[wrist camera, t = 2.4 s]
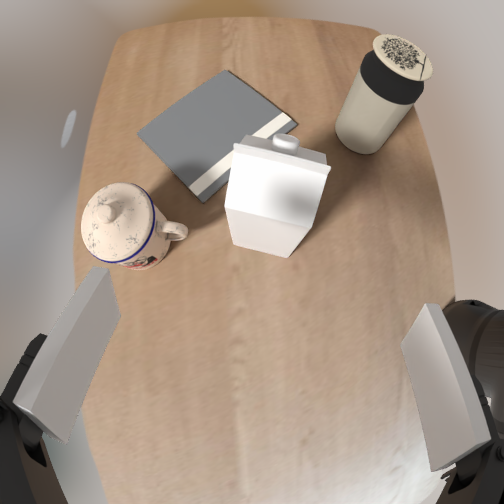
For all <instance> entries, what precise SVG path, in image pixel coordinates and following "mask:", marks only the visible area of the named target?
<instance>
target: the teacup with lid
mask: <svg viewBox="0 0 504 504" xmlns="http://www.w3.org/2000/svg"><path fill="white" fill-rule="evenodd" d="M81 231H82V237H83V240H84V243H85V245H86V247H87V248H88V250H89V251H90V252H91V254H92V255H93V256H95V257H96V258H97V259H99V260H101V261H104V262H108V263H116V264H119V265H121V266H124V267H127V268H130V269H133V270H145V269H148V268H151V267H153V266H155V265H156V264H158V263H159V262H160V261H161V260H162V259H163V258H164V256H165V255H166V253H167V251H168V249H169V246H170V242H171V240H182V239H185V238H186V237H187V235H188V228H187V227H186V226H185V225H183V224H181V223H177V222H171V221H167V219H166V218H165V216H164V215H163V214H162V213H161V212H160V211H159V209H158V208H157V207H156V206H155V205H154V204H153V202H152V200H151V198H150V196H149V195H148V194H147V192H146V191H145V190H143V189H142V188H141V187H139V186H137V185H135V184H132V183H127V182H118V183H113V184H110V185H108V186H106V187H104V188H102V189H101V190H99V191H98V192H97V193H96V194H95V195H94V196H93V197H92V198H91V199H90V201H89V202H88V204H87V206H86V208H85V210H84V213H83V217H82V223H81Z"/></svg>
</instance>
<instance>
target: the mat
mask: <svg viewBox="0 0 504 504" xmlns="http://www.w3.org/2000/svg"><path fill="white" fill-rule="evenodd" d="M296 126H297V124H296V123H295V122H294V121H292V119H291V118H289V117H288V116H287V115H286V114H284V113H283V112H281V111H280V110H279V109H278V108H276V107H275V106H274V105H273V104H271V103H270V102H269V101H267V100H266V99H265V98H263V97H262V96H261V95H260V94H258V93H257V92H256V91H254V90H253V89H252V88H250V87H249V86H247V85H246V84H245V83H243V82H242V81H241V80H239V79H238V78H236V77H235V76H234V75H232V74H231V73H229V72H228V71H226V70H224V71H222V72H221V73H219V74H217V75H216V76H214V77H213V78H211V79H210V80H208V81H207V82H205V83H204V84H202V85H201V86H199V87H198V88H196V89H195V90H193V91H192V92H190V93H189V94H187V95H186V96H185V97H183V98H182V99H180V100H179V101H178V102H176V103H175V104H173V105H172V106H171V107H169V108H168V109H167V110H165V111H164V112H163V113H161V114H160V115H159V116H157V117H156V118H155V119H154V120H152V121H151V122H150V123H148V124H147V125H146V126H145V127H143V128H142V129H141V130H140V131H139V132H137V135H138V136H139V137H140V138H141V139H142V140H143V141H144V142H145V143H146V144H147V146H148V147H149V148H150V149H151V150H152V151H153V152H154V153H155V154H156V155H157V156H158V157H159V158H160V159H161V160H162V161H163V162H164V163H165V164H166V165H167V166H168V167H169V168H170V170H171V171H172V172H173V173H174V174H175V175H176V176H177V177H178V178H179V179H180V180H181V181H182V182H183V183H184V184H185V185H186V186H187V187H188V188H189V189H190V190H191V191H192V192H193V193H194V195H195V196H196V197H197V198H198V199H199V200H200V201H201V202H202V203H204V202H205V201H206V200H208V199H209V198H210V197H211V196H212V195H213V194H214V193H216V192H217V191H218V190H219V189H220V188H221V187H223V186H224V185H225V184H226V183H227V182H228V181H229V177H230V171H231V166H232V160H233V155H234V146H233V145H234V143H238V144H240V142H241V141H242V140H243V138H244V137H245V136H246V135H251V136H256V137H260V138H265V139H269V140H273V137H274V135H275V134H287V133H289V132H290V131H291V130H293V129H294V128H295V127H296Z"/></svg>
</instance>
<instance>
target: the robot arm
mask: <svg viewBox="0 0 504 504" xmlns="http://www.w3.org/2000/svg"><path fill="white" fill-rule="evenodd" d="M120 317H121V314H120V311H119V307H118V303H117V300H116V296H115V292H114V288H113V284H112V280H111V276H110V271H109V269H108V268H102V267H96V266H93V267H92V269H91V270H90V271H89V273H88V274H87V276H86V277H85V279H84V280H83V282H82V283H81V284H80V286H79V287H78V289H77V290H76V292H75V293H74V295H73V297H72V298H71V299H70V301H69V302H68V304H67V306H66V307H65V309H64V310H63V312H62V313H61V315H60V317H59V318H58V320H57V322H56V323H55V325H54V326H53V328H52V330H51V331H50V333H49V335H48V336H46V335H44V334H41V333H40V334H39V335H38V336H37V337H36V338H34V339H33V340H32V341H31V342H30V344H29V345H28V347H27V349H26V351H25V352H24V355H23V356H22V357H21V359H20V361H19V364H18V365H17V366H16V368H15V370H14V372H13V374H12V376H11V377H10V379H9V381H8V383H7V385H6V387H5V389H4V391H3V393H2V395H1V396H0V504H68V502H67V500H66V498H65V496H64V494H63V491H62V489H61V486H60V484H59V482H58V479H57V477H56V474H55V472H54V469H53V466H52V464H51V461H50V458H49V455H48V452H47V449H46V446H45V443H44V441H43V439H42V437H41V436H42V433H43V432H45V433H46V434H47V435H48V436H49V437H50V438H53V439H55V440H57V441H59V442H61V443H64V444H66V445H67V443H68V440H69V438H70V435H71V432H72V429H73V427H74V424H75V421H76V419H77V416H78V413H79V411H80V408H81V406H82V403H83V401H84V398H85V396H86V393H87V391H88V388H89V386H90V383H91V381H92V379H93V376H94V374H95V372H96V369H97V367H98V365H99V362H100V360H101V358H102V356H103V353H104V351H105V349H106V347H107V345H108V342H109V340H110V338H111V336H112V334H113V332H114V330H115V327H116V325H117V323H118V321H119V319H120ZM400 346H401V349H402V352H403V356H404V359H405V362H406V366H407V369H408V373H409V376H410V380H411V383H412V387H413V391H414V394H415V398H416V402H417V406H418V410H419V414H420V419H421V423H422V427H423V432H424V437H425V441H426V446H427V451H428V457H429V462H430V468H431V472H434V471H438V470H441V469H445V468H447V467H449V466H450V465H452V464H454V463H456V467H455V468H453V469H451V470H450V471H448V472H446V473H445V474H443V475H442V477H441V479H444V478H445V477H447V476H449V475H450V477H448V478H447V479H446V480H445V481H446V482H447V483H446V485H445V487H444V489H443V491H442V493H441V495H440V497H439V499H438V501H437V502H436V504H504V310H498V309H496V308H493V307H491V306H489V305H487V304H485V303H483V302H480V301H477V300H462V301H457V302H454V303H452V304H450V305H449V306H447V307H446V308H445V309H444V310H443V311H442V310H441V308H440V306H439V304H430V303H425V304H424V306H423V308H422V310H421V311H420V313H419V315H418V317H417V318H416V320H415V322H414V323H413V325H412V327H411V328H410V330H409V331H408V333H407V335H406V336H405V338H404V339H403V341H402V342H401V344H400ZM485 396H486V397H490V398H491V406H490V407H489V405H488V401H487V398H486V397H485Z"/></svg>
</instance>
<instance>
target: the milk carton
mask: <svg viewBox="0 0 504 504" xmlns="http://www.w3.org/2000/svg"><path fill="white" fill-rule="evenodd" d="M299 144H300V141H299V139H297V138H296V137H294V136H291V135H287V134H275V135H274V137H273V140H269V139H265V138H260V137H256V136H251V135H246V136H245V137H244V138H243V140H242V141H241V142H240V144H238V143H234V145H233V146H234V155H233V160H232V166H231V171H230V177H229V182H228V188H227V194H226V199H225V205H224V207H225V210H226V214H227V219H228V223H229V227H230V231H231V236H232V240H233V244H234V245H236V246H240V247H244V248H248V249H252V250H256V251H260V252H264V253H268V254H272V255H276V256H280V257H284V258H288V257H289V256H290V255H291V253H292V252H293V251H294V249H295V248H296V247H297V246H298V244H299V243H300V242H301V240H302V239H303V238H304V237H305V235H306V234H307V233H308V231H309V230H310V229H311V228H312V225H313V222H314V218H315V215H316V212H317V209H318V205H319V202H320V199H321V195H322V192H323V189H324V185H325V182H326V179H327V175H328V173H329V171H330V170H331V167H330V166H328V165H327V161H326V154H324V153H321V152H317V151H313V150H310V149H306V148H302V147H299Z"/></svg>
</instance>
